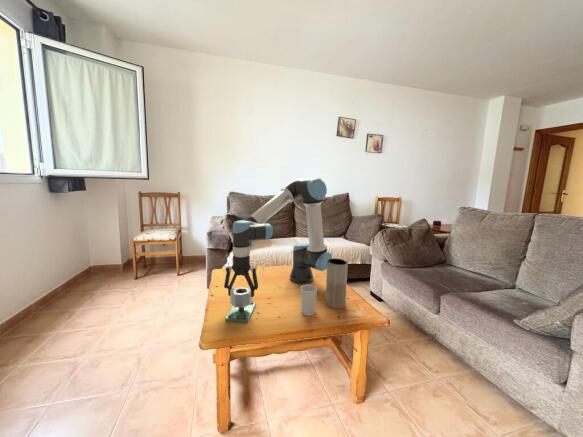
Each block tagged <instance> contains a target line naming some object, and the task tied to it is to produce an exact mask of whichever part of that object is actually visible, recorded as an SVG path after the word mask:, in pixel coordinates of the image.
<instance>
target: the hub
mask: <svg viewBox="0 0 583 437" xmlns="http://www.w3.org/2000/svg"><path fill="white" fill-rule="evenodd" d="M249 291H250V287H246V286H245V287H243V286H242V287H241V286H240V287H236V288H234V290H233V291H232V304H231V305H232V307H233V306H234V307H239V308H243V307H246V306H249Z"/></svg>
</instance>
